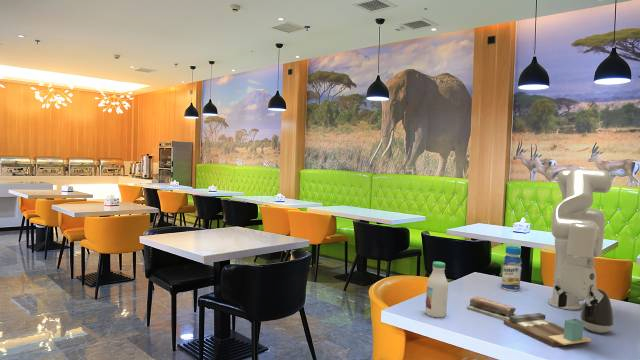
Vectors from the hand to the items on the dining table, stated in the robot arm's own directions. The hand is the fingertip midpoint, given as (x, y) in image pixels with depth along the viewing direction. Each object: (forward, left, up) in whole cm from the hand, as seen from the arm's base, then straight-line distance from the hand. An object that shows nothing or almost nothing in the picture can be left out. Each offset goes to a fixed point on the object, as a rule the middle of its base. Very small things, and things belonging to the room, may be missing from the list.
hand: (574, 311), depth 151 cm
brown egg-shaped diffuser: (-21, -7, -11) cm, 25 cm away
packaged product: (+3, -32, -12) cm, 34 cm away
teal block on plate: (+1, -1, -9) cm, 9 cm away
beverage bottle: (-32, -58, -11) cm, 68 cm away
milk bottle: (+28, -36, -11) cm, 47 cm away
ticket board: (+1, -11, -11) cm, 15 cm away
